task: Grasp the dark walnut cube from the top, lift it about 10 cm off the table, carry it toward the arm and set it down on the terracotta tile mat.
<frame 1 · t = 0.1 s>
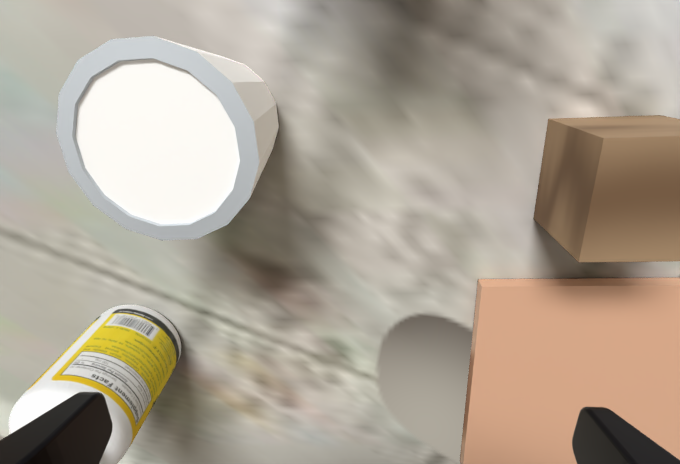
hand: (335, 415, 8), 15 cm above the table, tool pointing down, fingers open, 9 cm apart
supplement bottle: (142, 337, 26), on the table
tile mat: (586, 380, 25), on the table
walnut cube: (592, 169, 21), on the table
white cup: (222, 118, 21), on the table
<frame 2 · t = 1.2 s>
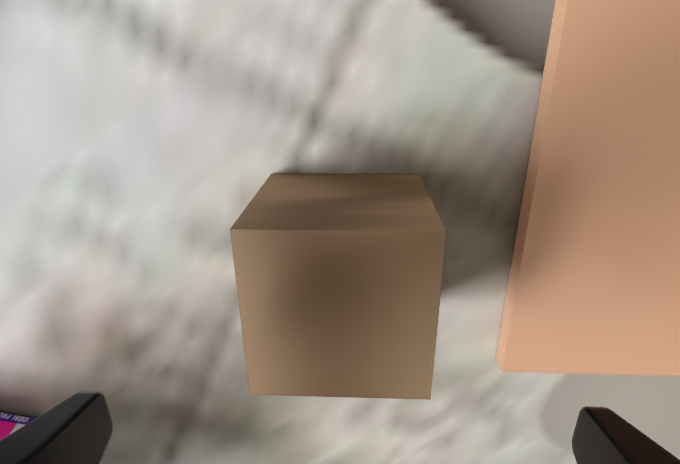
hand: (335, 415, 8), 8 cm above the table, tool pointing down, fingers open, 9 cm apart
walnut cube: (345, 240, 15), on the table
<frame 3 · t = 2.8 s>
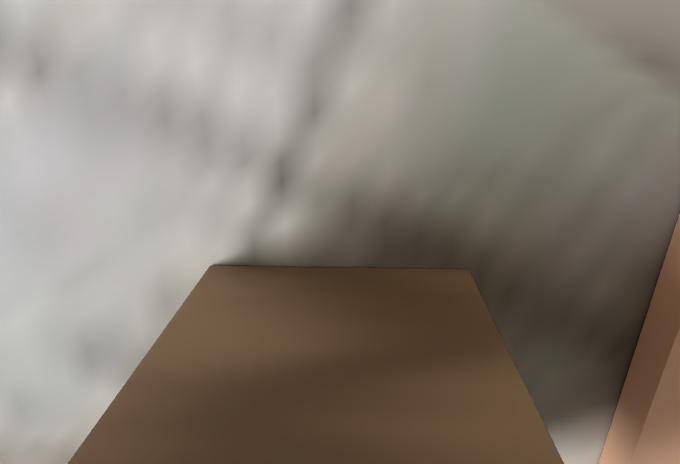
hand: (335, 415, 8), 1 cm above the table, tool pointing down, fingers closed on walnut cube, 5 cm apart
walnut cube: (339, 369, 9), on the table, touching gripper
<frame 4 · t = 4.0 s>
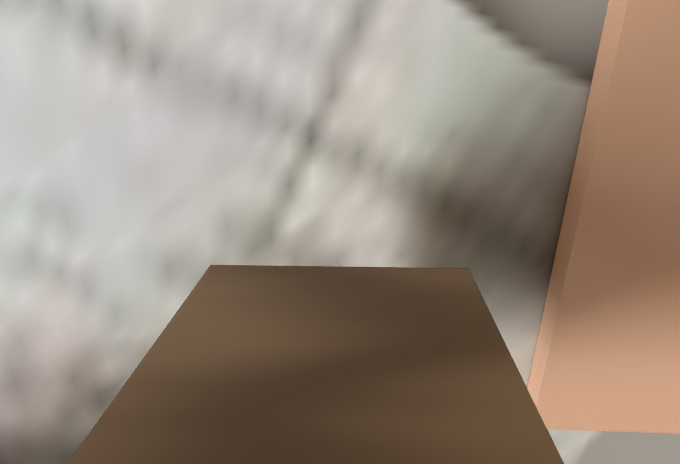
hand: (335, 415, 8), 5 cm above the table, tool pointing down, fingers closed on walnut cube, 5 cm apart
walnut cube: (339, 369, 9), point 4 cm above the table, touching gripper
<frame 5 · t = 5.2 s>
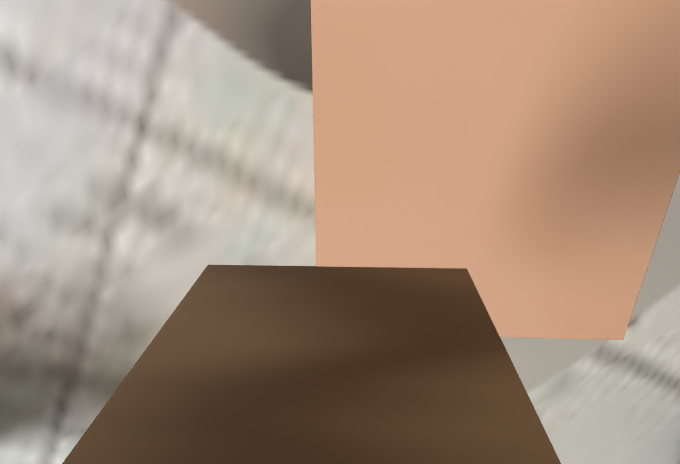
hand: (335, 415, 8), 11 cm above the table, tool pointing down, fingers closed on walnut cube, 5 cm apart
tile mat: (485, 185, 17), on the table
walnut cube: (337, 369, 9), point 10 cm above the table, touching gripper
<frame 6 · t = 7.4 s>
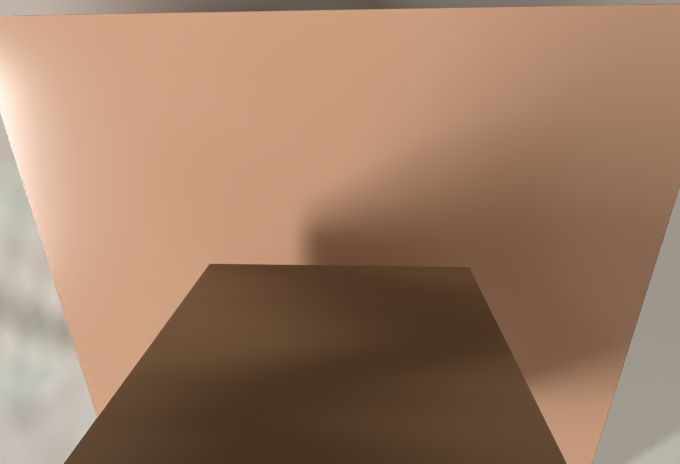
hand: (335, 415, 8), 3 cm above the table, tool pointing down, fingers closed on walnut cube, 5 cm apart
tile mat: (342, 310, 11), on the table
walnut cube: (338, 368, 9), point 2 cm above the table, touching gripper
when the fingers open (3 cm above the table, at t = 7.9 s): walnut cube drops 1 cm, resting on tile mat.
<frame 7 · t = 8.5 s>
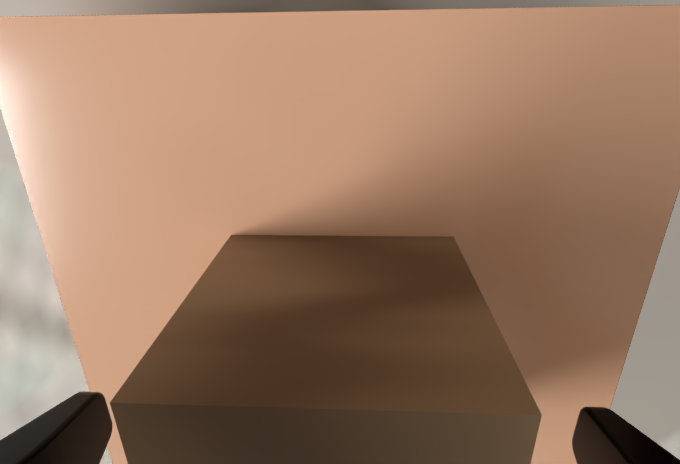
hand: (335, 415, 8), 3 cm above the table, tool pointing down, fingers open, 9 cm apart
tile mat: (342, 310, 11), on the table
walnut cube: (342, 328, 10), point 1 cm above the table, touching tile mat
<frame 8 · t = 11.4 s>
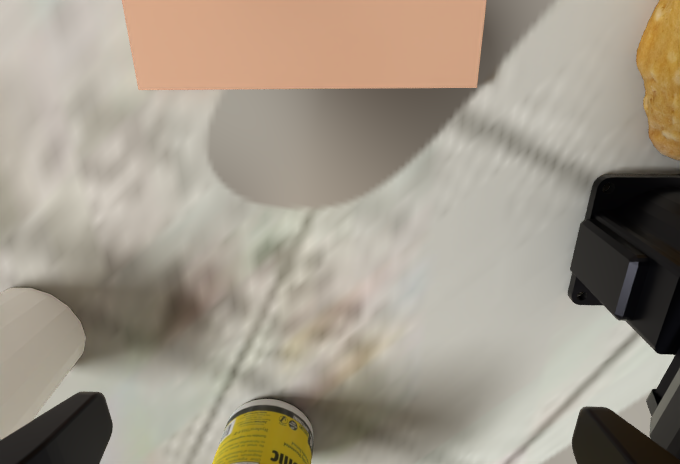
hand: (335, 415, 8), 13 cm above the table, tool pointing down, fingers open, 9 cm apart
supplement bottle: (272, 425, 26), on the table
white cup: (39, 327, 24), on the table
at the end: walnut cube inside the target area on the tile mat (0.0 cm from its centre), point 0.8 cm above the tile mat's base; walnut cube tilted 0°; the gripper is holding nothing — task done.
